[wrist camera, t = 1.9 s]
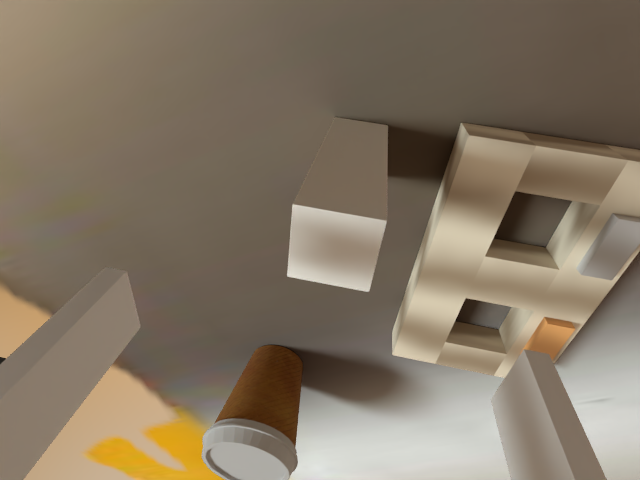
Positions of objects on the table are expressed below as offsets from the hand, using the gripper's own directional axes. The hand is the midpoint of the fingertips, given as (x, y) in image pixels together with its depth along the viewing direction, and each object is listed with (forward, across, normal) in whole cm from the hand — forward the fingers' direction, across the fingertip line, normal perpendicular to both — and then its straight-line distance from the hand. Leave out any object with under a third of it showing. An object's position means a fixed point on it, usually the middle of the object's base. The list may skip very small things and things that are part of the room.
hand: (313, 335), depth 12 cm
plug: (+19, 0, 0) cm, 19 cm away
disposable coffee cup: (+19, -5, -28) cm, 34 cm away
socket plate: (+19, +14, -8) cm, 25 cm away
